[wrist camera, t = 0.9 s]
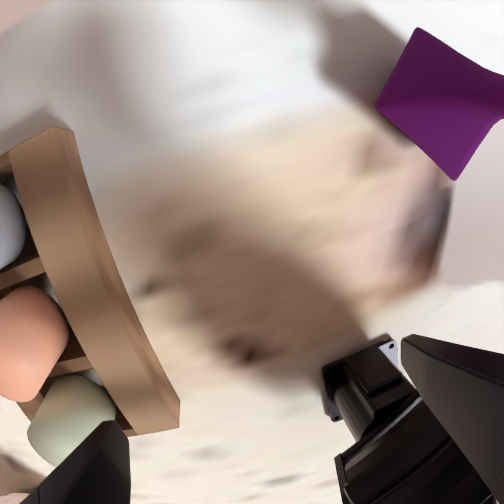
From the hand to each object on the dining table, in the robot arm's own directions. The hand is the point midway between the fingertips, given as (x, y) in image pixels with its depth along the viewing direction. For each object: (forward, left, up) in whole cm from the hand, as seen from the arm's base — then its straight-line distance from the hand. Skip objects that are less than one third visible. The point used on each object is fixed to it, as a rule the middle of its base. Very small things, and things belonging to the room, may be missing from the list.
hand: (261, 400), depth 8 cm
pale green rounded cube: (-5, +13, -9) cm, 16 cm away
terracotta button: (+1, +13, -9) cm, 16 cm away
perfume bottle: (+7, -15, -12) cm, 21 cm away
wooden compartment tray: (+1, +13, -12) cm, 17 cm away
